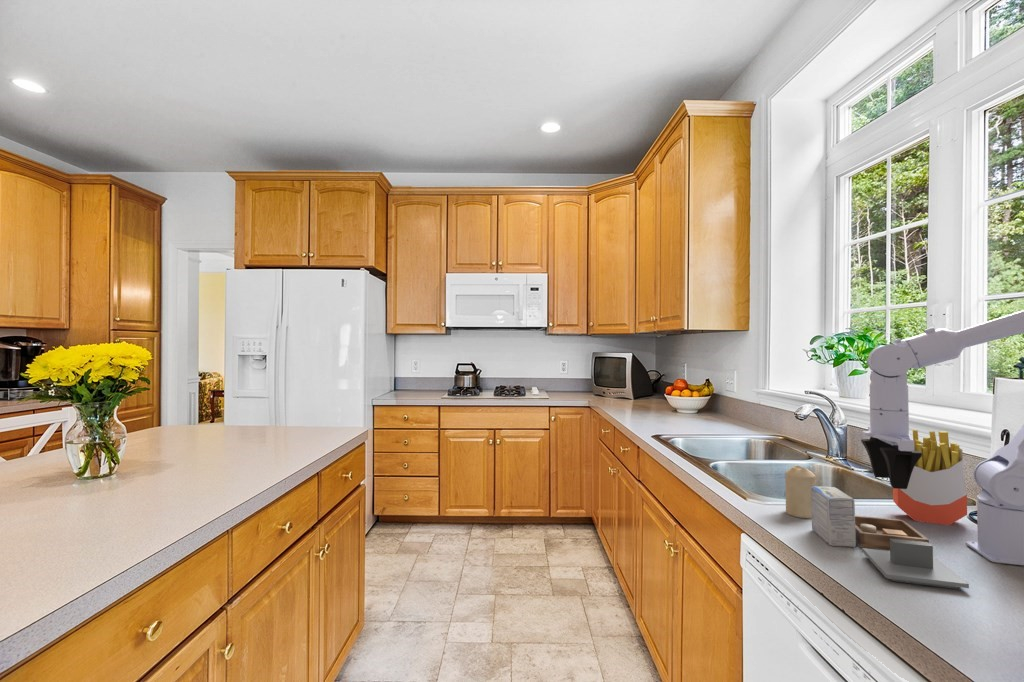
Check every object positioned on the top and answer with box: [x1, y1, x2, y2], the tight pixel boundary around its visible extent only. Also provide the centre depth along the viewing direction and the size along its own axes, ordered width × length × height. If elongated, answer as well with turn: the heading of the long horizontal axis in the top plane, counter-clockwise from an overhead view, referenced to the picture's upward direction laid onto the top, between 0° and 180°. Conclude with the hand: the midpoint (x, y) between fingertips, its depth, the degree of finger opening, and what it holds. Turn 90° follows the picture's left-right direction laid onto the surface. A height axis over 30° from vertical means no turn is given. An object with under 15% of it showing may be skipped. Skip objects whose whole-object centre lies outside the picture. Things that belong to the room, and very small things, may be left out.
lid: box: [861, 539, 970, 589], centre depth 77 cm, size 10×10×5 cm
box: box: [855, 515, 930, 551], centre depth 90 cm, size 10×10×2 cm
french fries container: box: [892, 429, 968, 526], centre depth 100 cm, size 5×11×18 cm, turn 63°
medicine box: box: [811, 485, 857, 548], centre depth 91 cm, size 8×4×9 cm, turn 168°
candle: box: [784, 465, 817, 519], centre depth 104 cm, size 6×6×10 cm
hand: (889, 482), depth 91 cm, fingers open, 7 cm apart
